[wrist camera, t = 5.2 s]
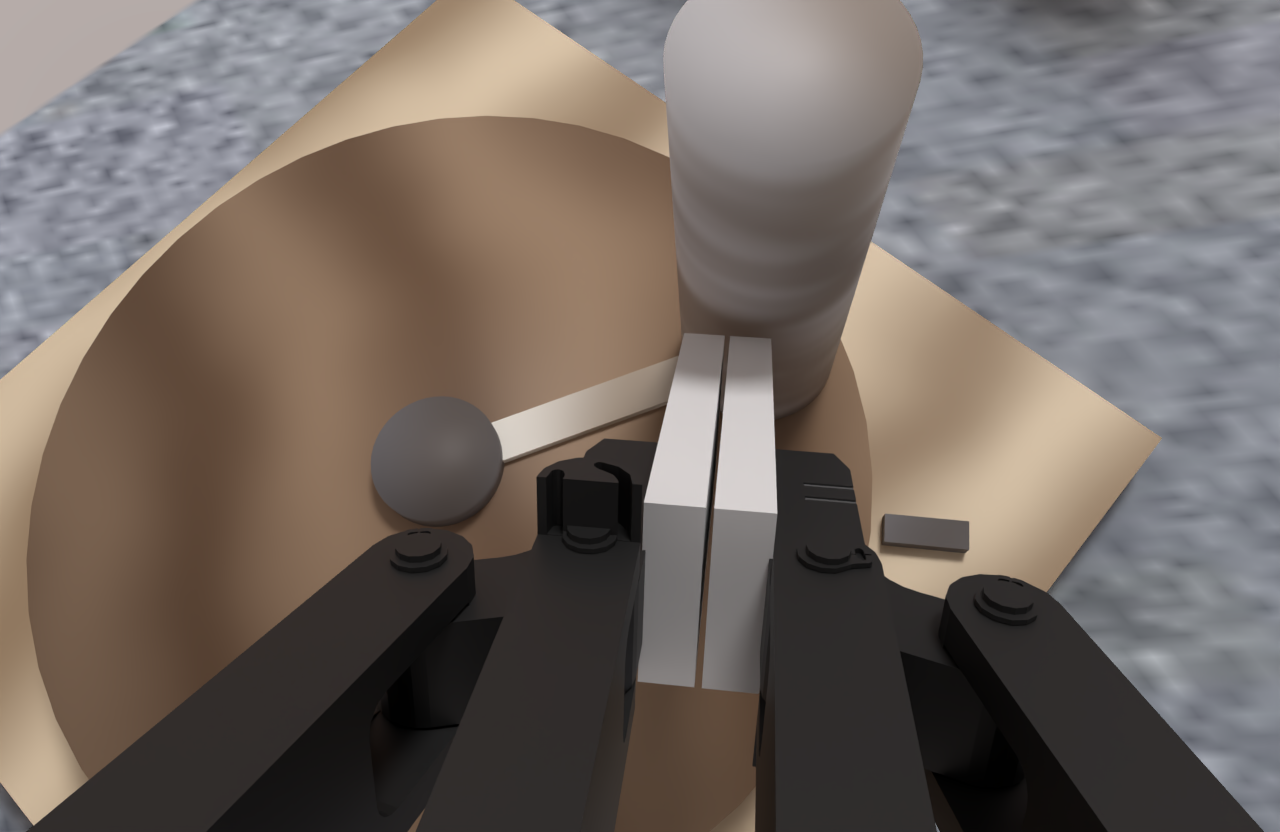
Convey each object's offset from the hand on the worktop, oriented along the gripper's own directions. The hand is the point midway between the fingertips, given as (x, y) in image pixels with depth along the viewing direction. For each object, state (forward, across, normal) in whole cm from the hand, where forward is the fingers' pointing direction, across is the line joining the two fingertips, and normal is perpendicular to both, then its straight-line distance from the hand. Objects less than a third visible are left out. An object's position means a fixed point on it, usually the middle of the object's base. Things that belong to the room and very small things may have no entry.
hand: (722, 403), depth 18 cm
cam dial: (+4, -7, -5) cm, 9 cm away
